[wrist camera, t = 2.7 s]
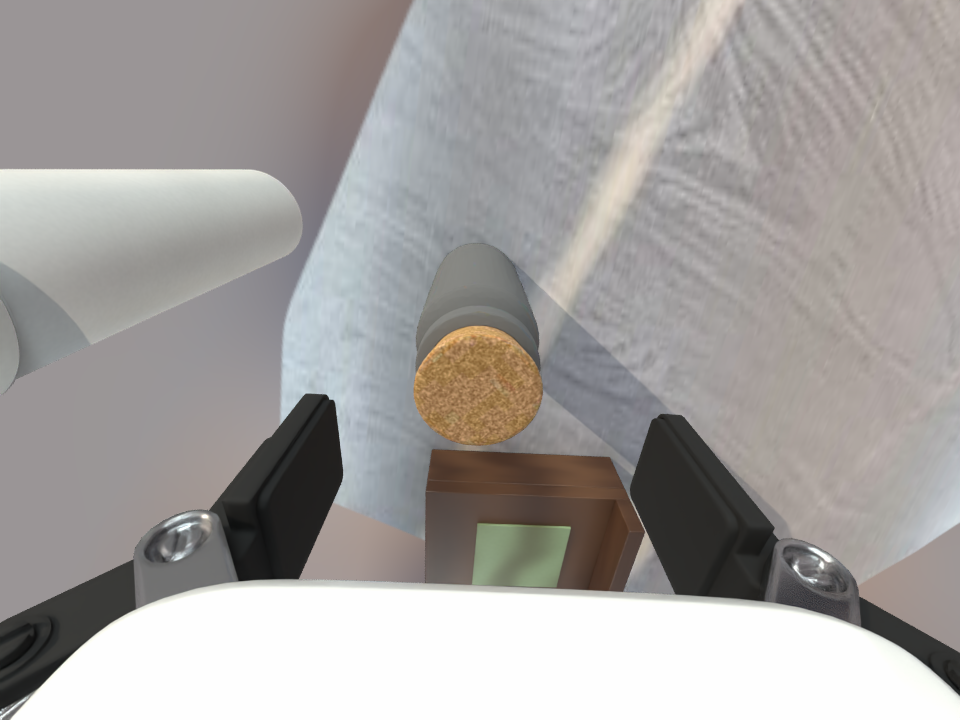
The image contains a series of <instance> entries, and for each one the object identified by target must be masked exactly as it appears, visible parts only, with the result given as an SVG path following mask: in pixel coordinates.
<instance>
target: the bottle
mask: <svg viewBox="0 0 960 720" xmlns="http://www.w3.org/2000/svg"><path fill="white" fill-rule="evenodd" d="M416 347H417V357H416V377H415V382H414V399H415V403H416V406H417V409H418V411H419V413H420V415H421V416H422V418H423V420H424V421H425V422H426V423H427V424H428V425H429V427H430V428H431V429H433V430H434V431H435V432H437V433H438V434H440V435H441V436H443V437H444V438H446V439H449V440H451V441H453V442H457V443H460V444H465V445H476V446H481V445H491V444H496V443H499V442H502V441H505V440H507V439H510V438H512V437H513V436H515V435H516V434H518V433H519V432H521V431H522V430H523V429H524V428H526V427H527V426H528V424H529V423H530V422H531V421H532V420H533V418H534V417H535V415H536V413H537V411H538V409H539V407H540V404H541V400H542V395H543V384H542V378H541V375H540V358H539V353H538V347H539V333H538V327H537V323H536V320H535V317H534V315H533V312H532V309H531V307H530V304H529V302H528V299H527V297H526V294H525V292H524V289H523V287H522V284H521V282H520V280H519V277H518V275H517V273H516V270H515V268H514V266H513V264H512V263H511V261H510V260H509V259H508V257H507V256H506V255H505V254H504V253H502V252H501V251H500V250H498V249H497V248H495V247H492V246H490V245H486V244H479V243H473V244H466V245H463V246H460V247H458V248H456V249H455V250H453V251H452V252H451V253H450V254H448V255H447V256H446V258H445V259H444V260H443V262H442V263H441V265H440V267H439V269H438V271H437V273H436V276H435V278H434V281H433V284H432V286H431V289H430V292H429V294H428V297H427V300H426V303H425V306H424V309H423V311H422V314H421V317H420V320H419V324H418V327H417V334H416Z"/></svg>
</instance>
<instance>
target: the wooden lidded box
mask: <svg viewBox="0 0 960 720" xmlns="http://www.w3.org/2000/svg"><path fill="white" fill-rule="evenodd" d="M644 534H645V531H644V529H643V527H642V524H641V522H640V520H639V518H638V516H637V514H636V512H635V510H634V507H633V505H632V503H631V501H630V499H629V497H628V495H627V493H626V490H625V489H624V486H623V484H622V482H621V480H620V478H619V476H618V474H617V471H616V469H615V467H614V465H613V463H612V461H611V459H610V457H591V456H569V455H546V454H524V453H501V452H478V451H456V450H432V453H431V460H430V466H429V473H428V480H427V486H426V520H425V583H434V584H460V585H483V586H506V587H529V588H551V589H574V590H594V591H614V592H623V590H624V588H625V585H626V582H627V580H628V577H629V574H630V571H631V569H632V566H633V563H634V561H635V558H636V555H637V553H638V550H639V547H640V545H641V542H642V539H643V537H644Z"/></svg>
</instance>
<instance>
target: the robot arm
mask: <svg viewBox="0 0 960 720" xmlns="http://www.w3.org/2000/svg"><path fill="white" fill-rule="evenodd" d="M342 479H343V465H342V457H341V449H340V440H339V432H338V424H337V415H336V407H335V402H334V400H329V397H328V396H327V395H324V394H305V395H304V396H303V397H302V398H301V400H300V401H299V402H298V403H297V405H296V406H295V407H294V409H293V410H292V411H291V412H290V414H289V415H288V416H287V418H286V419H285V420H284V421H283V423H282V424H281V425H280V426H279V428H278V429H277V430H276V432H275V433H274V434H273V435H272V437H270V438H268V439H266V440H265V441H264V442H263V444H262V445H261V446H260V447H259V448H258V450H257V451H256V452H255V454H254V455H253V456H252V457H251V458H250V460H249V461H248V462H247V463H246V465H245V466H244V467H243V469H242V470H241V471H240V472H239V473H238V475H237V476H236V477H235V478H234V480H233V481H232V482H231V483H230V485H229V486H228V487H227V489H226V490H225V491H224V492H223V493H222V495H221V496H220V497H219V499H218V500H217V501H216V502H215V504H214V505H213V506H212V507H211V509H210V510H209V511H208V510H191V511H186V512H183V513H179V514H176V515H174V516H172V517H170V518H168V519H165V520H163V521H162V522H160V523H159V524H157V525H156V526H155V527H153V528H151V529H150V530H149V531H148V532H147V533H146V534H145V535H144V536H143V537H142V538H141V540H140V541H139V543H138V544H137V546H136V547H135V551H134V556H133V558H134V559H133V560H131V561H129V562H127V563H125V564H123V565H121V566H118V567H116V568H114V569H112V570H110V571H108V572H106V573H104V574H102V575H99V576H97V577H95V578H93V579H91V580H89V581H87V582H85V583H82V584H80V585H78V586H76V587H74V588H72V589H70V590H68V591H65V592H63V593H61V594H59V595H57V596H55V597H53V598H51V599H49V600H46V601H44V602H42V603H40V604H38V605H36V606H34V607H32V608H30V609H27V610H25V611H23V612H21V613H19V614H17V615H15V616H12V617H10V618H8V619H6V620H5V621H3V622H1V623H0V720H960V653H959V652H957V651H956V650H954V649H952V648H950V647H949V646H947V645H945V644H943V643H941V642H940V641H938V640H936V639H934V638H932V637H931V636H929V635H927V634H925V633H924V632H922V631H920V630H918V629H916V628H915V627H913V626H911V625H909V624H908V623H906V622H904V621H902V620H900V619H899V618H897V617H895V616H893V615H891V614H890V613H888V612H886V611H884V610H882V609H881V608H879V607H877V606H875V605H874V604H872V603H870V602H868V601H867V600H865V599H863V598H861V597H859V590H858V587H857V583H856V580H855V579H854V578H853V576H852V575H851V573H850V572H849V570H848V569H847V568H846V567H845V566H844V565H843V564H842V563H841V562H840V561H838V560H837V559H836V558H834V557H833V556H832V555H830V554H829V553H828V552H826V551H824V550H822V549H821V548H819V547H817V546H815V545H813V544H810V543H808V542H805V541H802V540H798V539H793V538H785V539H781V540H778V539H777V537H776V536H775V535H774V534H773V533H772V532H773V531H774V529H775V527H774V526H773V525H772V524H771V523H770V521H769V520H768V519H767V518H766V516H765V515H764V514H763V513H762V512H761V510H760V509H759V508H758V507H757V506H756V504H755V503H754V502H753V501H752V499H751V498H750V497H749V496H748V495H747V493H746V492H745V491H744V490H743V488H742V487H741V486H740V485H739V484H738V482H737V481H736V480H735V479H734V478H733V476H732V475H731V474H730V473H729V471H728V470H727V469H726V468H725V467H724V465H723V464H722V463H721V462H720V460H719V459H718V458H717V457H716V456H715V454H714V453H713V452H712V451H711V450H710V448H709V447H708V446H707V445H706V443H705V442H704V441H703V440H702V439H701V437H700V436H699V435H698V434H697V432H696V431H695V430H694V429H693V428H692V426H691V425H690V424H689V423H688V422H687V420H686V419H685V418H684V417H683V416H682V415H671V414H660V415H659V416H658V417H657V419H656V418H655V419H653V420H652V422H651V424H650V427H649V430H648V433H647V437H646V440H645V443H644V446H643V449H642V452H641V455H640V458H639V461H638V464H637V467H636V471H635V474H634V477H633V480H632V483H631V487H630V494H631V498H632V501H633V503H634V505H635V507H636V509H637V511H638V514H639V516H640V518H641V520H642V522H643V525H644V527H645V529H646V531H647V533H648V535H649V538H650V540H651V542H652V544H653V546H654V548H655V551H656V553H657V555H658V557H659V559H660V562H661V564H662V566H663V568H664V570H665V572H666V575H667V577H668V579H669V581H670V583H671V586H672V588H673V590H674V592H675V594H676V595H675V594H654V593H634V592H614V591H594V590H574V589H551V588H529V587H506V586H483V585H460V584H434V583H408V582H382V581H353V580H307V579H304V580H303V579H299V577H300V575H301V573H302V571H303V568H304V566H305V564H306V562H307V559H308V557H309V555H310V553H311V550H312V548H313V546H314V543H315V541H316V539H317V536H318V535H319V532H320V530H321V528H322V525H323V523H324V521H325V519H326V517H327V514H328V512H329V510H330V507H331V505H332V503H333V501H334V499H335V496H336V494H337V492H338V490H339V487H340V485H341V482H342Z"/></svg>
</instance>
